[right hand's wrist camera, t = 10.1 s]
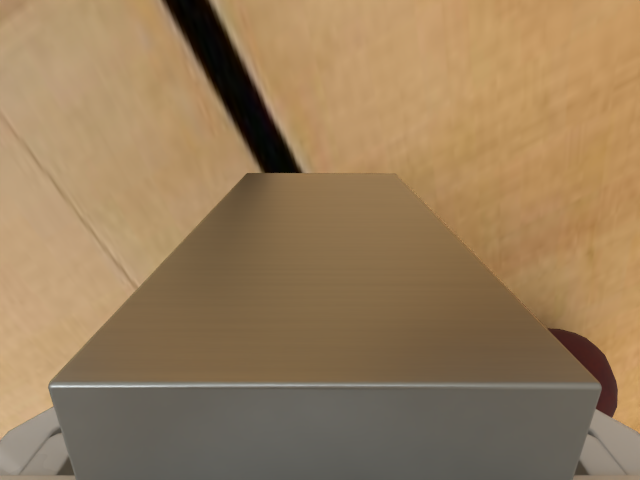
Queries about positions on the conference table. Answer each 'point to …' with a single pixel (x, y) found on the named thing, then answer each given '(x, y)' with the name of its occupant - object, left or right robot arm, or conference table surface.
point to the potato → (592, 367)
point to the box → (323, 352)
